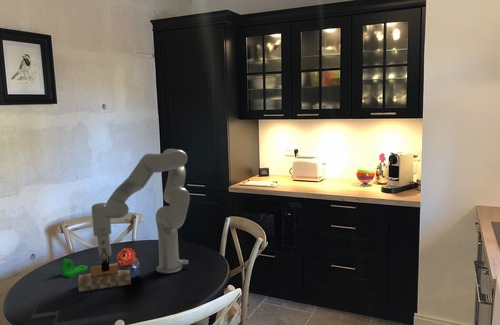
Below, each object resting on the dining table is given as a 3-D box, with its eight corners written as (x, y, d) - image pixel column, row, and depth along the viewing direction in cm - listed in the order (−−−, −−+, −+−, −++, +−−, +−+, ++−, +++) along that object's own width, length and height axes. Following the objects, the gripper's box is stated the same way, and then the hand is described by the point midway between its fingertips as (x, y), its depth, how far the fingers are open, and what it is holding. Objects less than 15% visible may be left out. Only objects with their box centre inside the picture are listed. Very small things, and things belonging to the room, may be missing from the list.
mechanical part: (70, 278, 198) (68, 262, 197) (61, 276, 200) (60, 260, 200) (90, 270, 208) (89, 255, 207) (82, 268, 211) (81, 253, 210)
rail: (130, 278, 195) (129, 268, 194) (131, 284, 188) (130, 273, 188) (80, 285, 188) (79, 275, 188) (78, 291, 181) (78, 280, 181)
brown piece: (118, 279, 191) (117, 263, 190) (118, 282, 188) (117, 265, 188) (91, 283, 188) (90, 266, 187) (91, 286, 185) (90, 268, 184)
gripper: (111, 234, 179) (114, 272, 181) (111, 225, 195) (114, 260, 197) (92, 237, 176) (96, 275, 178) (94, 227, 193) (97, 262, 195)
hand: (105, 267), depth 188 cm, fingers open, 9 cm apart
